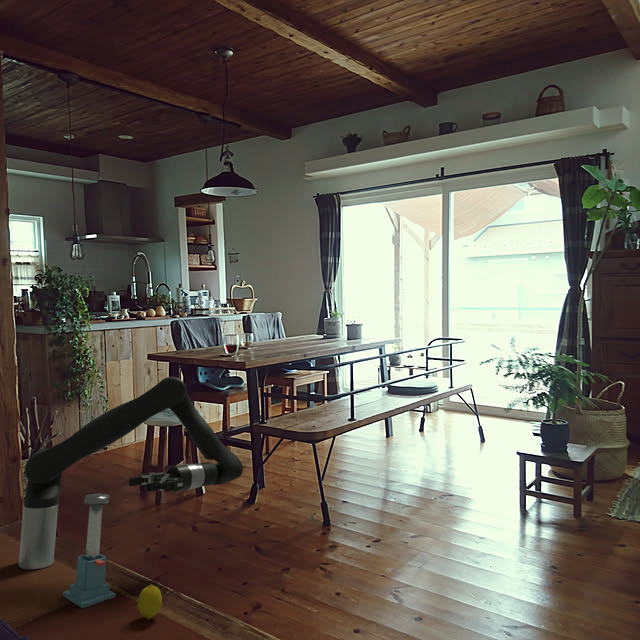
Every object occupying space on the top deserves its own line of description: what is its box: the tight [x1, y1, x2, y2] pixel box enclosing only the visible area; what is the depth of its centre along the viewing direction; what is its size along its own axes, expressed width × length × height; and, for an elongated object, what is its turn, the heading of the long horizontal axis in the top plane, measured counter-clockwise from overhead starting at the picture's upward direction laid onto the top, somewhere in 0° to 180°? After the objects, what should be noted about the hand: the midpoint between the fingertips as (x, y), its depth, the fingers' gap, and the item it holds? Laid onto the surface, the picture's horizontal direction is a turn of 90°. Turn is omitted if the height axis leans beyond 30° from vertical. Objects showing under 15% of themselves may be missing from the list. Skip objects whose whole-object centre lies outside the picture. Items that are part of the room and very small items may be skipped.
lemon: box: [137, 584, 163, 620], centre depth 136 cm, size 6×6×8 cm
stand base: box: [62, 552, 117, 609], centre depth 146 cm, size 10×9×10 cm
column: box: [83, 493, 110, 561], centre depth 147 cm, size 6×6×24 cm
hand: (137, 485), depth 157 cm, fingers open, 8 cm apart
